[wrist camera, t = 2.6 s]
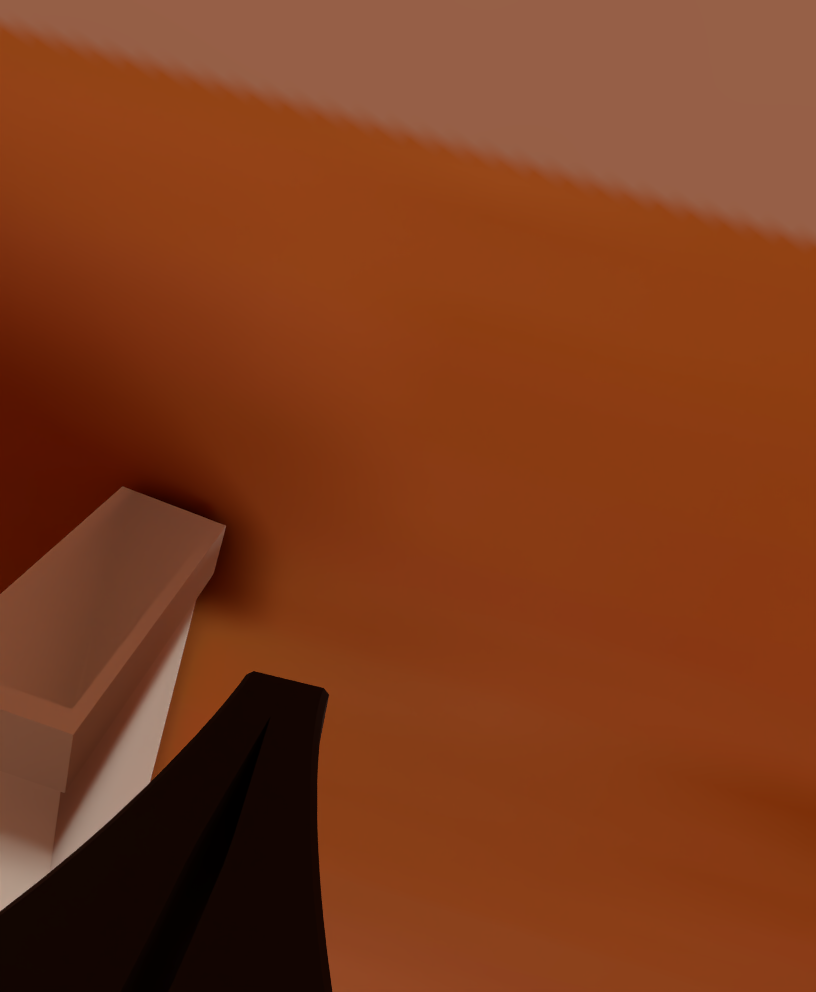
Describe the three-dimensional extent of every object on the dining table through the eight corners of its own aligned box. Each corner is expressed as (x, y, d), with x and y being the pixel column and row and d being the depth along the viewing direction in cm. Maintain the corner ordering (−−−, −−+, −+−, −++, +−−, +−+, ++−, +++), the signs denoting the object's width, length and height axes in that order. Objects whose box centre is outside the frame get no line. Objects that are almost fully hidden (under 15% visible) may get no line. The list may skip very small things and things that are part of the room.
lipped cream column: (147, 823, 16) (27, 1051, 12) (73, 798, 16) (-73, 1019, 12) (226, 525, 12) (73, 734, 7) (122, 486, 11) (-94, 676, 7)
